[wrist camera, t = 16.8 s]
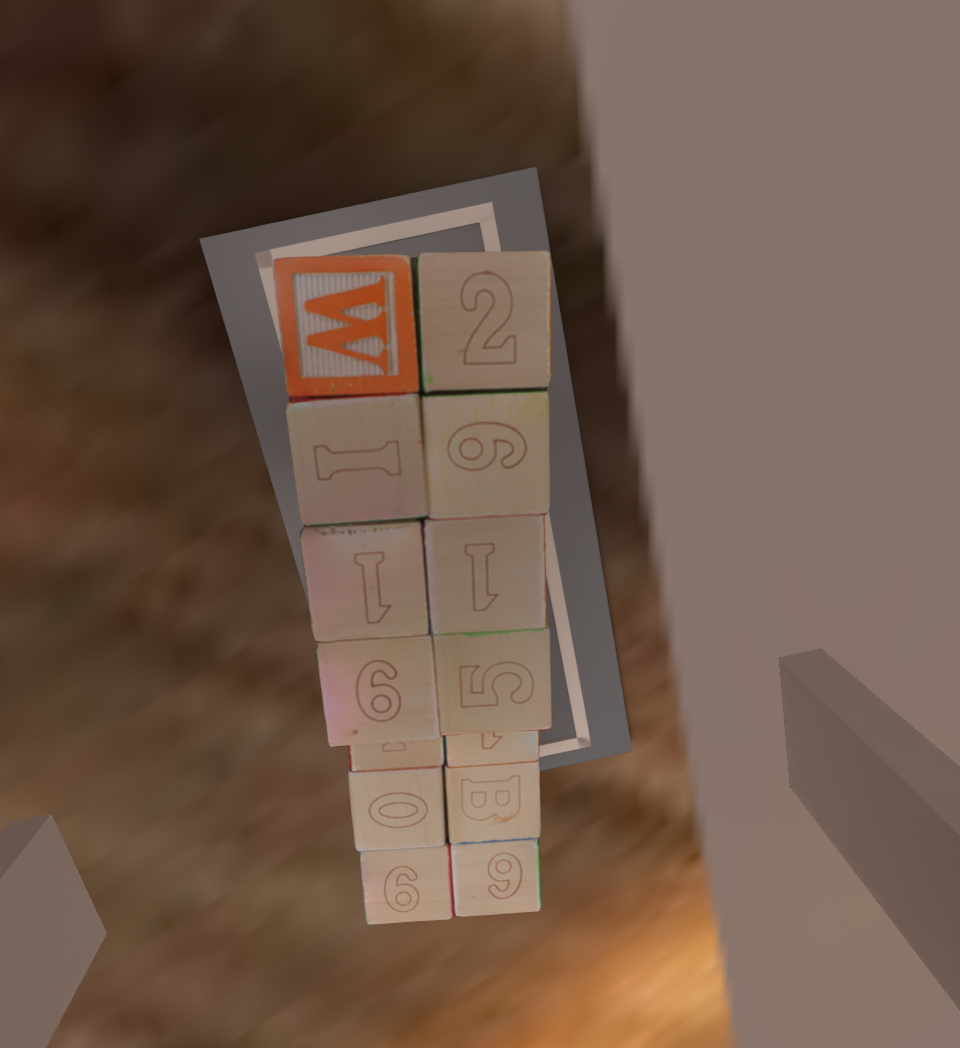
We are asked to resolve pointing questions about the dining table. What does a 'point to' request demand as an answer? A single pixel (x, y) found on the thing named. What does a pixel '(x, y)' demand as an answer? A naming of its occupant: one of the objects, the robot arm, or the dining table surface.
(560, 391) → the blueprint baseplate
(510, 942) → the dining table surface
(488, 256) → the stack of blocks
